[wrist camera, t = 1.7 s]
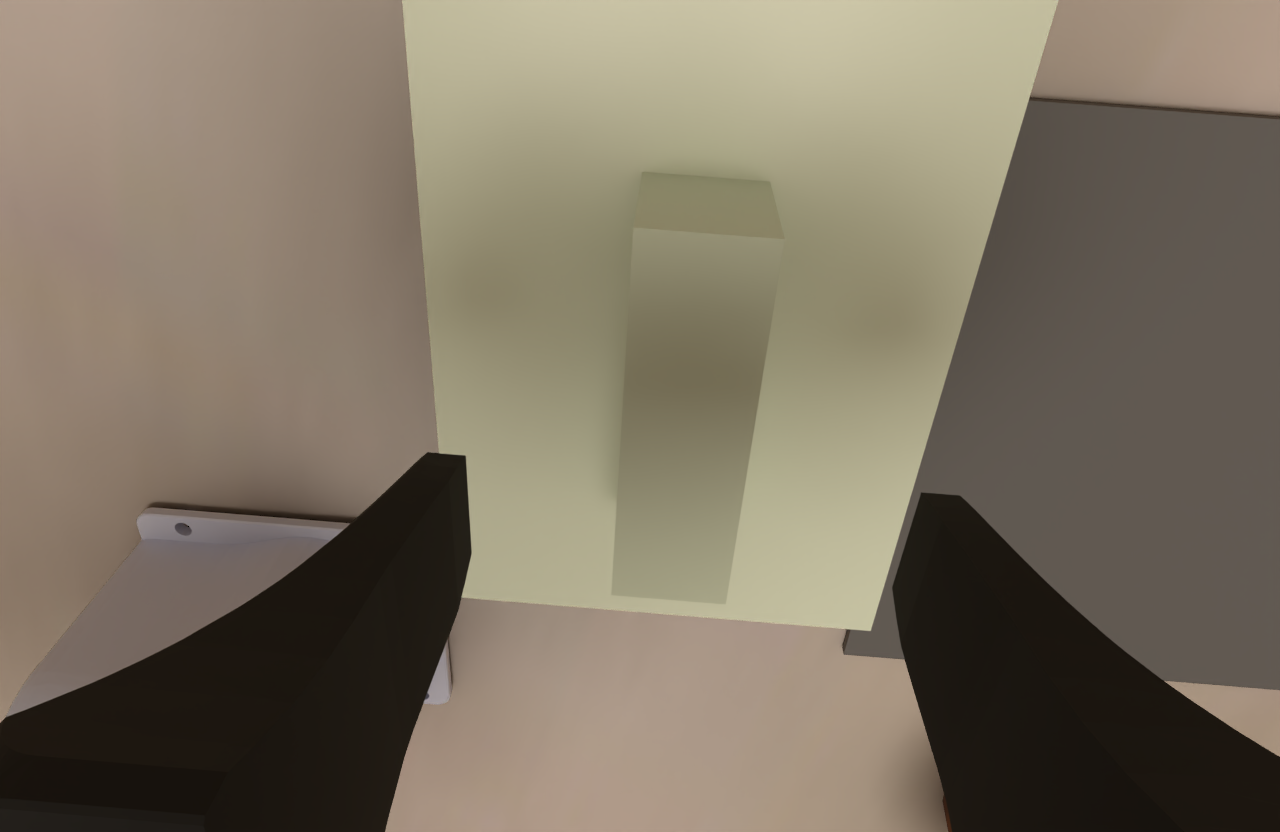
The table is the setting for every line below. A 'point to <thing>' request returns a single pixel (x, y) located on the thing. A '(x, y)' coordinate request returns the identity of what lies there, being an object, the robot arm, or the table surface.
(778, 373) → the lid
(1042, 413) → the rubber mat
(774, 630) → the table surface
